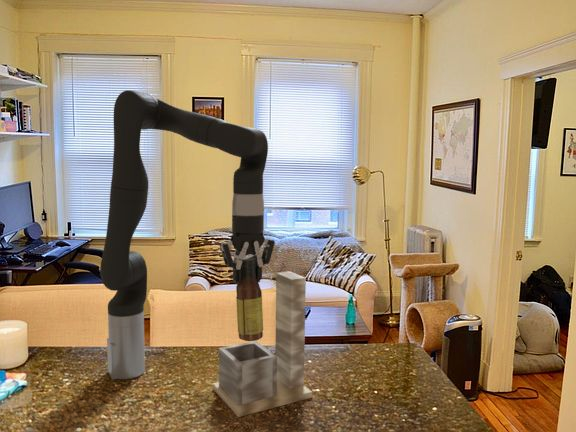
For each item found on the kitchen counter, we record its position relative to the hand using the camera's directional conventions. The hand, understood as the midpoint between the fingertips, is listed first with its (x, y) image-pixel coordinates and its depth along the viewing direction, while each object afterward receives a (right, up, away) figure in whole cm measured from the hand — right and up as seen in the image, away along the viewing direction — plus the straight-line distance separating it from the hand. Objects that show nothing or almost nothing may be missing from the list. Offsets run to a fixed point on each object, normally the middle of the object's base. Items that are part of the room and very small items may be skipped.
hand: (247, 282), depth 121 cm
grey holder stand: (+3, -29, +5) cm, 29 cm away
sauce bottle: (0, -14, +2) cm, 14 cm away
